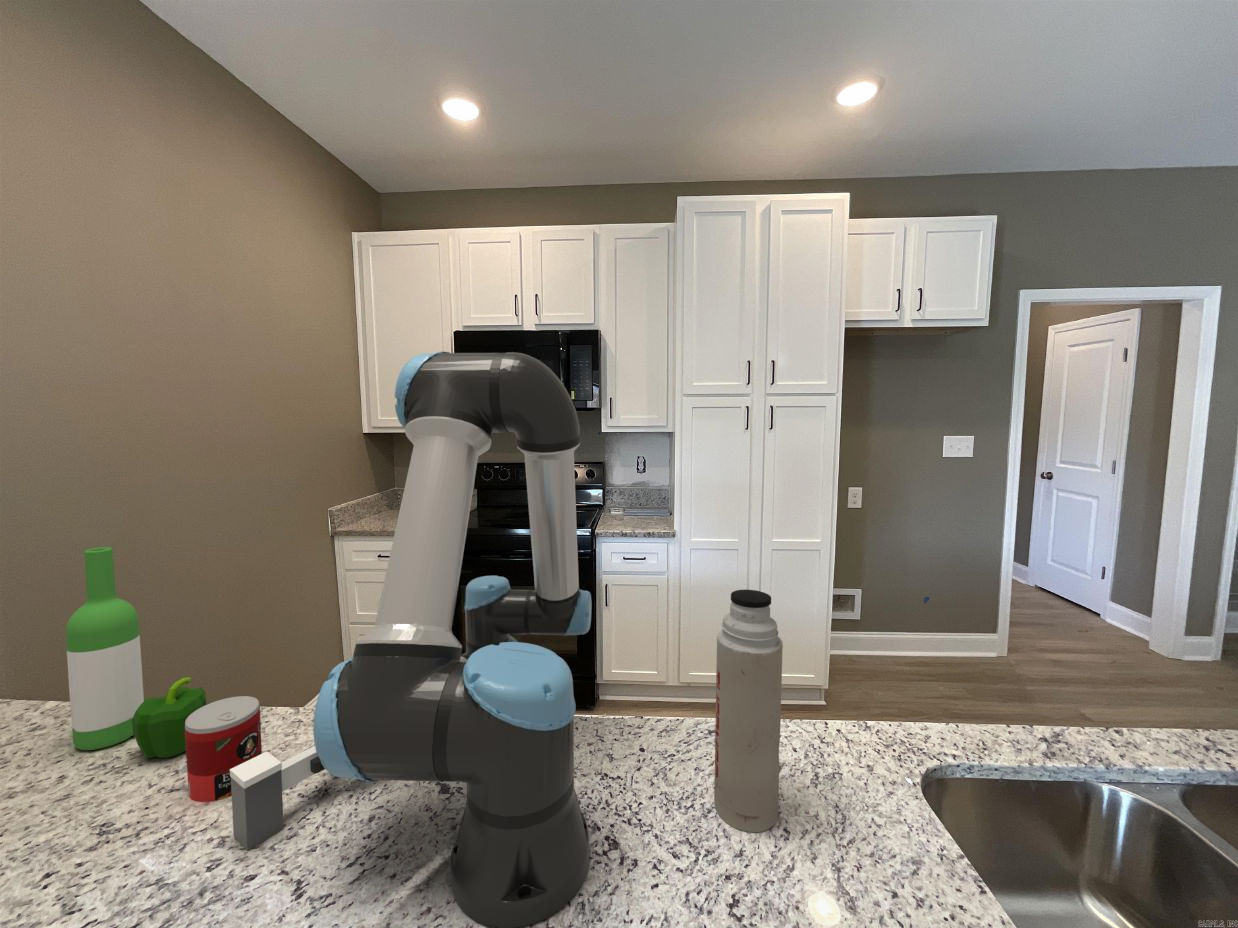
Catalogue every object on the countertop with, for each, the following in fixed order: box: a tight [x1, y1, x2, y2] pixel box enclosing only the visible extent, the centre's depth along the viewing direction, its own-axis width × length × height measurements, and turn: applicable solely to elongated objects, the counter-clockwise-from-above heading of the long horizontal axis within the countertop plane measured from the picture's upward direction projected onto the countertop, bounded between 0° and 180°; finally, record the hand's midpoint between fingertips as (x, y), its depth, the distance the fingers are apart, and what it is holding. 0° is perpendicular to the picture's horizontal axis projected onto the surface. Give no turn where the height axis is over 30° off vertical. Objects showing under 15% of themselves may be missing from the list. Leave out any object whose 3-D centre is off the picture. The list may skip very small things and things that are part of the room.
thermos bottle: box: [713, 589, 784, 833], centre depth 61 cm, size 8×8×28 cm
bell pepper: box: [132, 676, 207, 759], centre depth 72 cm, size 8×8×10 cm
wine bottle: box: [65, 546, 145, 751], centre depth 74 cm, size 8×8×30 cm
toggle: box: [230, 751, 285, 852], centre depth 56 cm, size 4×4×8 cm
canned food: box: [185, 695, 263, 803], centre depth 64 cm, size 8×8×11 cm
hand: (277, 779), depth 57 cm, fingers closed
